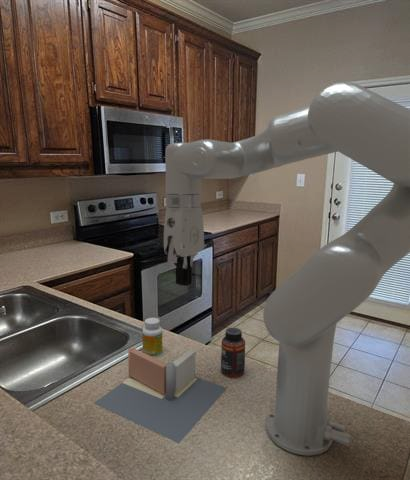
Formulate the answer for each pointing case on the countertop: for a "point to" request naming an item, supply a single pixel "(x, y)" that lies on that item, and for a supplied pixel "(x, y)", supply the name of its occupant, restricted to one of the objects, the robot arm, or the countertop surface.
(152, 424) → the board
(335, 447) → the countertop surface
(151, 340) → the supplement bottle
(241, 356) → the supplement bottle
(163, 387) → the fence panel
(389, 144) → the robot arm
